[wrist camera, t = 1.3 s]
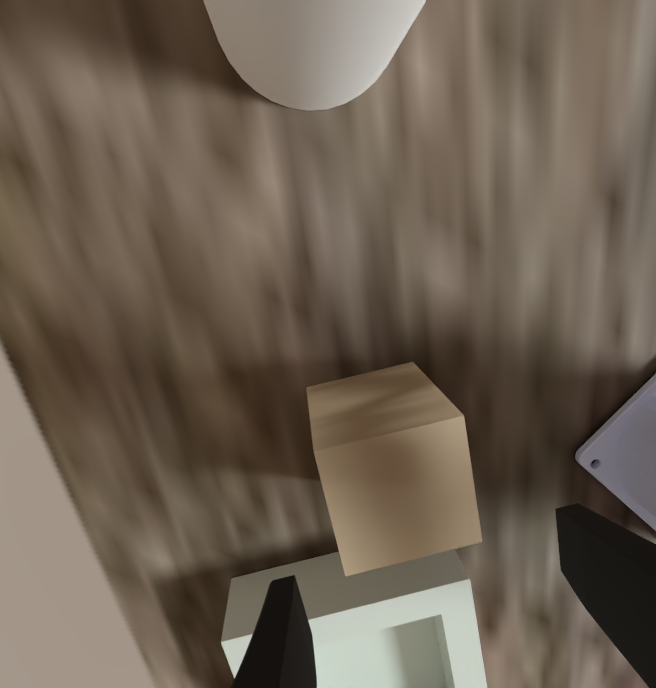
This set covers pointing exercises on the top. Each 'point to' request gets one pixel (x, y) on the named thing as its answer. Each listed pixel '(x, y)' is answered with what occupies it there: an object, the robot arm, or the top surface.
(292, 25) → the cylindrical container
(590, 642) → the top surface
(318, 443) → the block
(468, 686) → the dish
